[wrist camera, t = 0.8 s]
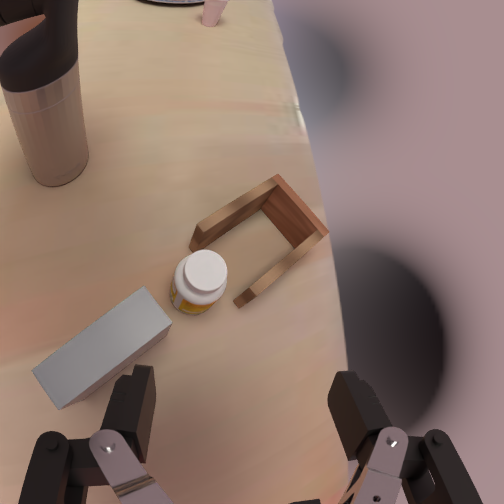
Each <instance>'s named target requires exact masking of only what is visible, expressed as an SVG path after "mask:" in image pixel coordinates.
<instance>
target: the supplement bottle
mask: <svg viewBox="0 0 504 504" xmlns="http://www.w3.org/2000/svg"><path fill="white" fill-rule="evenodd" d="M226 284H227V266H226V263H225V261H224V260H223V258H222V257H221V256H220V255H219V254H217V253H216V252H214V251H211V250H199V251H196V252H194V253H193V254H191V255H188V256H186V257H185V258H184V259H182V260H181V261H180V263H179V264H178V266H177V267H176V270H175V273H174V276H173V280H172V283H171V286H170V298H171V301H172V303H173V305H174V306H175V307H176V308H177V309H178V310H179V311H180V312H182V313H185V314H189V315H198V314H201V313H203V312H205V311H206V310H208V309H209V308H210V307H211V306H212V305H213V304H214V303H215V302H216V301H217V300H218V299H219V298H220V297H221V295H222V294H223V293H224V291H225V288H226Z"/></svg>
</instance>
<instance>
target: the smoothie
mask: <svg viewBox="0 0 504 504" xmlns="http://www.w3.org/2000/svg"><path fill="white" fill-rule="evenodd" d="M228 1H229V0H205V3H204V10H203V17H202V24H203V25H205V26H208V27H214V26H216V24H217V22H218V20H219V18H220V16H221V14H222V12H223V10H224V8H225V6H226V4H227V2H228Z"/></svg>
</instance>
